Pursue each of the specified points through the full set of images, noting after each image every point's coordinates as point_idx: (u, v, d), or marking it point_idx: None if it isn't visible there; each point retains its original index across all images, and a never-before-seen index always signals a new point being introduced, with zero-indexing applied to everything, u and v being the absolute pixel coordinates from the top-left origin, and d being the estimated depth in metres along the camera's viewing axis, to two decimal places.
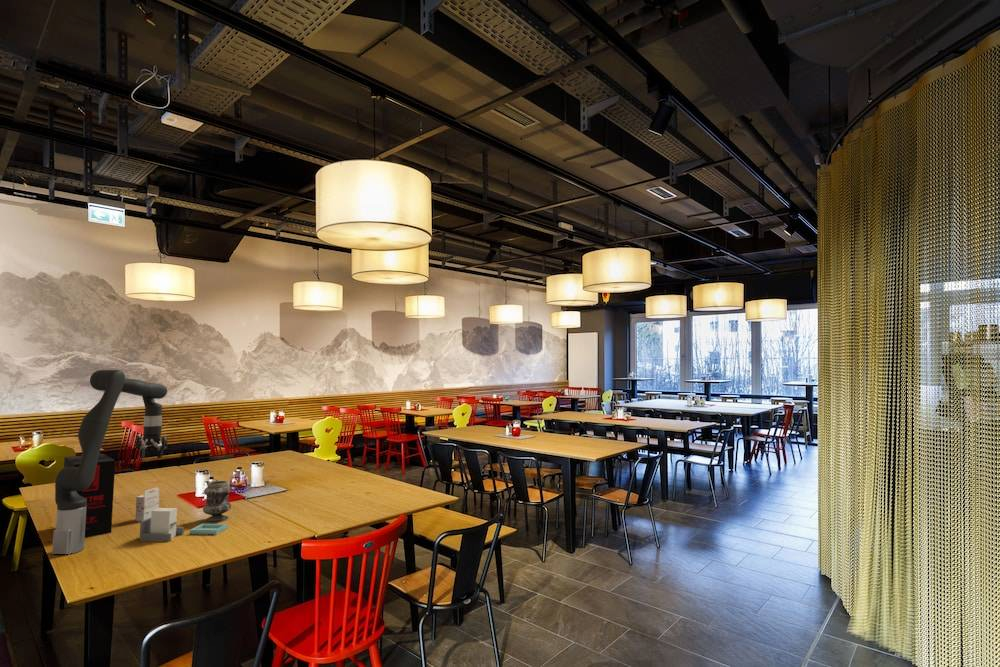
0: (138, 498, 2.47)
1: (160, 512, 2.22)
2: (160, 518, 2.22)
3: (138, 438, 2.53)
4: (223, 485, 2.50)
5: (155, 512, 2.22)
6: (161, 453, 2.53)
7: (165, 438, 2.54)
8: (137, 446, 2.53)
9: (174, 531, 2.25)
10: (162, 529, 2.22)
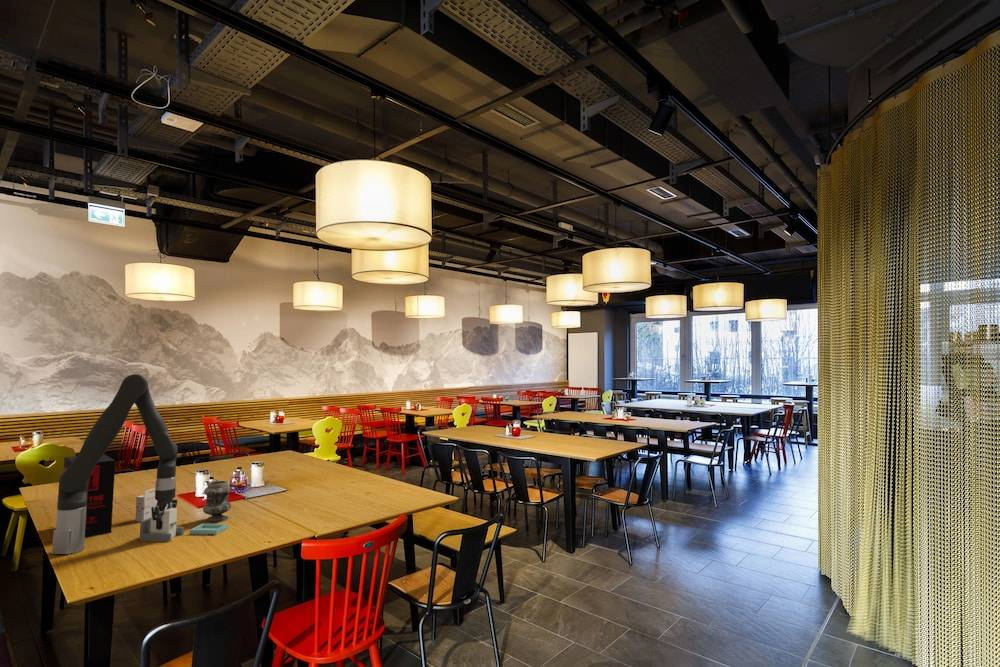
0: (138, 498, 2.47)
1: (160, 512, 2.22)
2: None
3: (158, 508, 2.19)
4: (223, 485, 2.50)
5: None
6: None
7: None
8: (159, 517, 2.20)
9: (174, 531, 2.25)
10: (162, 529, 2.22)
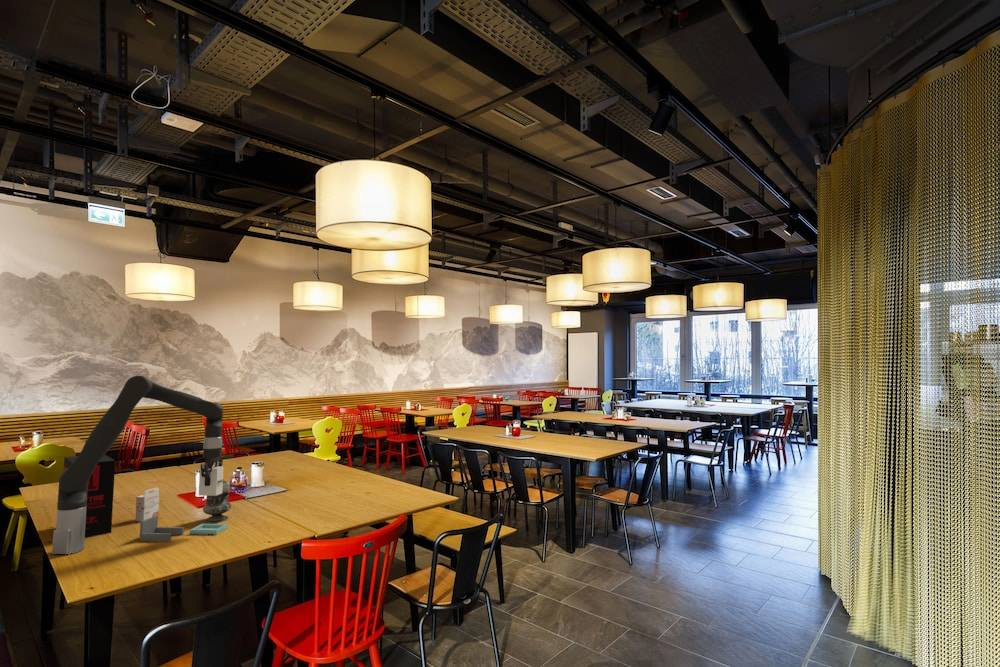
0: (138, 498, 2.47)
1: (208, 469, 2.32)
2: None
3: (206, 465, 2.29)
4: (223, 485, 2.50)
5: None
6: None
7: None
8: (207, 473, 2.29)
9: (221, 488, 2.35)
10: (210, 485, 2.31)
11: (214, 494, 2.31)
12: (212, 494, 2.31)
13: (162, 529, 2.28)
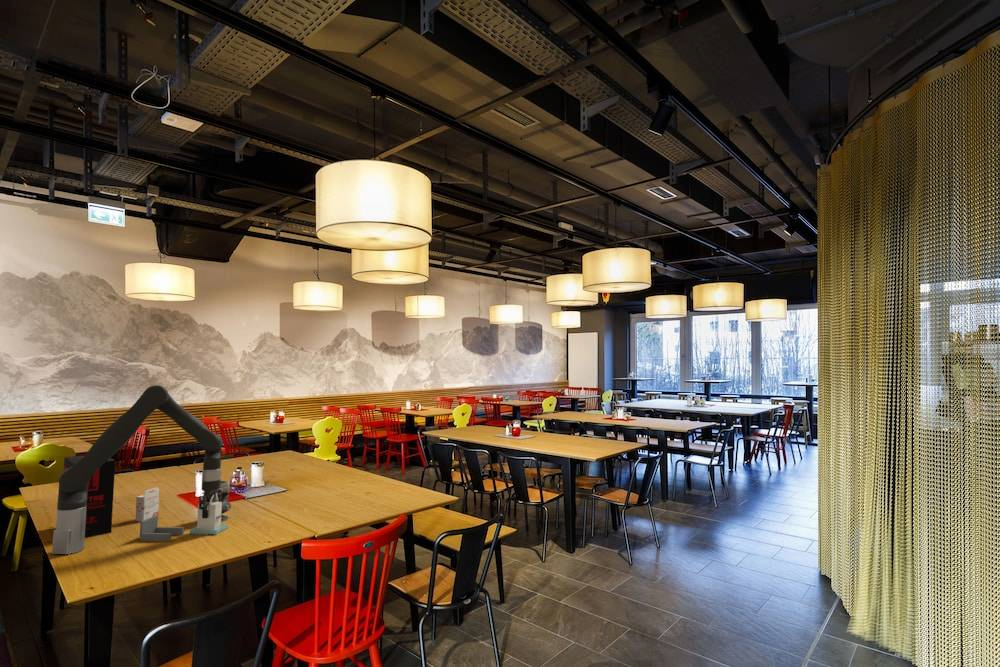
0: (138, 498, 2.47)
1: (206, 505, 2.31)
2: None
3: (205, 497, 2.28)
4: (223, 485, 2.50)
5: None
6: None
7: None
8: (205, 506, 2.28)
9: (219, 524, 2.34)
10: (208, 522, 2.30)
11: None
12: None
13: (162, 529, 2.28)
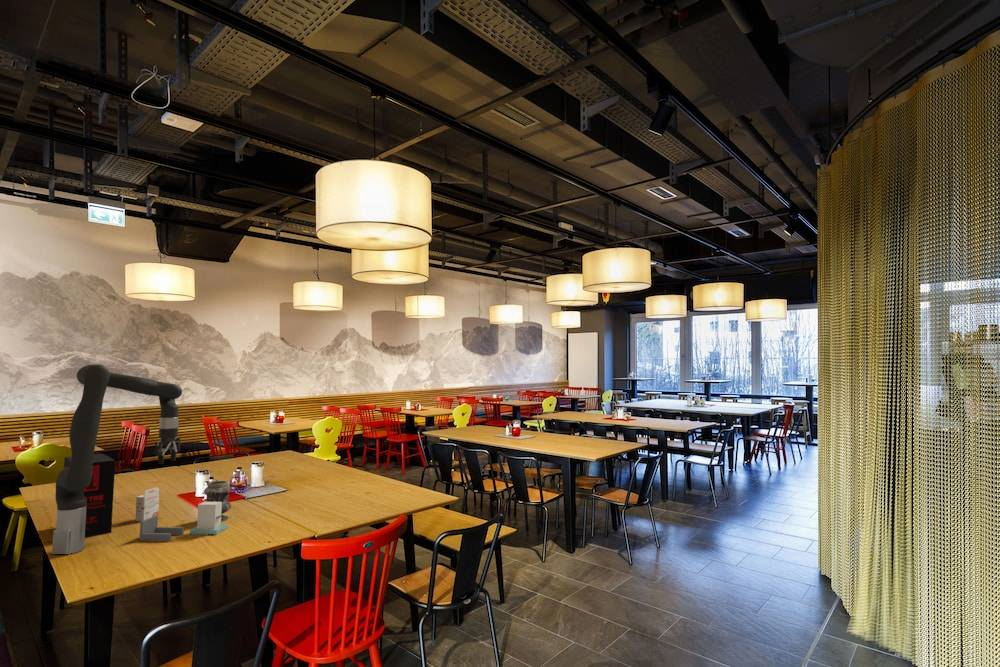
0: (138, 498, 2.47)
1: (206, 505, 2.31)
2: (207, 511, 2.31)
3: (161, 443, 2.33)
4: (223, 485, 2.50)
5: (201, 505, 2.31)
6: None
7: None
8: (160, 452, 2.32)
9: (219, 524, 2.34)
10: (208, 522, 2.30)
11: None
12: None
13: (162, 529, 2.28)
